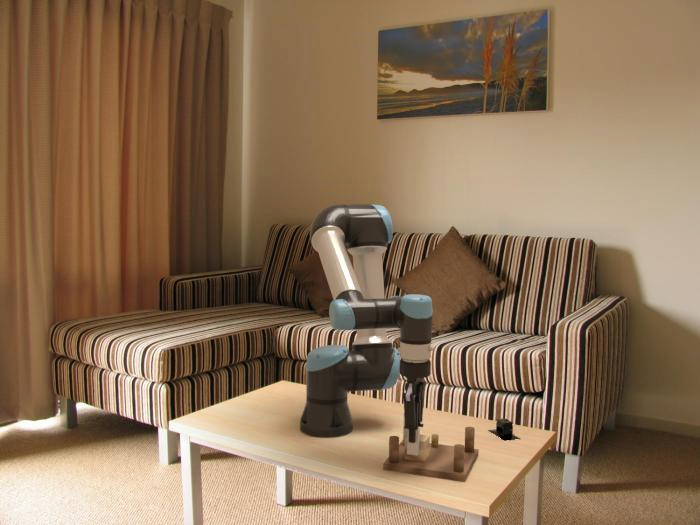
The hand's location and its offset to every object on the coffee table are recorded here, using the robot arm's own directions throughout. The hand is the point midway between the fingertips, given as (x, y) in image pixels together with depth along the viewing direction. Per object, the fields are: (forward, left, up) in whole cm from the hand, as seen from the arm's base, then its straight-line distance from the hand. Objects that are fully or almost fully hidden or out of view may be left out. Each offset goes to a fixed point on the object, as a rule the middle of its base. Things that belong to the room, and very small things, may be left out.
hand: (413, 453), depth 174 cm
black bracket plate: (+18, +33, -4) cm, 38 cm away
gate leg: (-2, +12, -2) cm, 12 cm away
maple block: (0, +3, -2) cm, 4 cm away
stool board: (+4, +5, -4) cm, 7 cm away
